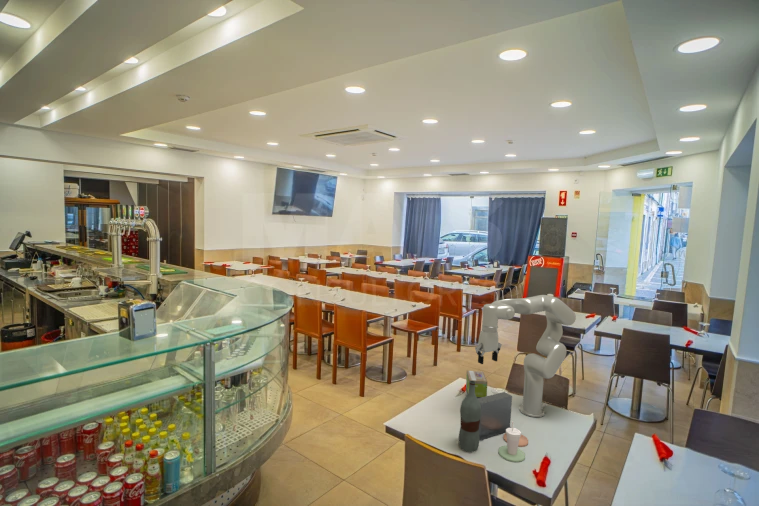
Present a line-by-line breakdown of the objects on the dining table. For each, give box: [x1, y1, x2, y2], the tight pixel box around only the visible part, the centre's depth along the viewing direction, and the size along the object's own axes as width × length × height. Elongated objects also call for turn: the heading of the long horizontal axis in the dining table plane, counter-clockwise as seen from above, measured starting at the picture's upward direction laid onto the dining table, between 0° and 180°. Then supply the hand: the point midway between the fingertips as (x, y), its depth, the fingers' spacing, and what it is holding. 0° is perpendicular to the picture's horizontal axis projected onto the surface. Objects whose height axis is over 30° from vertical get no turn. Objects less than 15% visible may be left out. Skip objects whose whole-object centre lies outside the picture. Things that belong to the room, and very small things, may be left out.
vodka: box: [458, 381, 481, 453], centre depth 177 cm, size 9×9×30 cm
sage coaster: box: [498, 445, 526, 463], centre depth 174 cm, size 11×11×1 cm
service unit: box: [477, 391, 513, 442], centre depth 192 cm, size 22×7×17 cm, turn 120°
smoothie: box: [506, 420, 522, 455], centre depth 173 cm, size 6×6×14 cm
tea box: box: [465, 370, 488, 398], centre depth 227 cm, size 15×10×15 cm, turn 174°
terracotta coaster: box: [502, 433, 529, 448], centre depth 186 cm, size 11×11×1 cm
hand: (487, 362), depth 202 cm, fingers open, 9 cm apart
